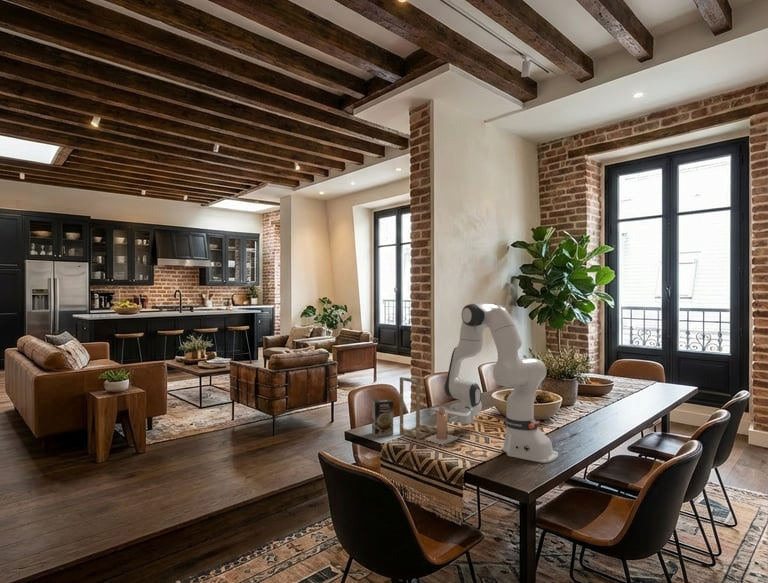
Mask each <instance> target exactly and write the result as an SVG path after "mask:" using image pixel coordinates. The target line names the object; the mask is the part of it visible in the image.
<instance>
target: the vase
mask: <svg viewBox="0 0 768 583" xmlns="http://www.w3.org/2000/svg"><path fill="white" fill-rule="evenodd" d="M438 407H439V412H438V413H436V425H435V426H436V433H435V434H436V438H437V439H447V434H448V420H447V413H445V407H446V406H443V405H442V406H438Z"/></svg>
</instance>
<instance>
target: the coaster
mask: <svg viewBox="0 0 768 583" xmlns="http://www.w3.org/2000/svg"><path fill="white" fill-rule="evenodd" d="M458 439H459V437H458V436H455V435H452V434H450V433H447V439H437V438H436V433H434V434H432V435H429V436H426V437H424V441H426V440H427V442H430V441H431V443H433V442H434V444H437V443H438V444H437V445H440V444H441V445H440V446H444V444H445V445H447V444H449V443H451V442H454V441H457V440H458Z"/></svg>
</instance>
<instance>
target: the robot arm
mask: <svg viewBox="0 0 768 583" xmlns="http://www.w3.org/2000/svg"><path fill="white" fill-rule="evenodd" d="M461 319H462V321H461V326H460V330H459V341H458V344H457V346H456V347H454V348H453V351H452V353H451V357H450V361H449V367H448V371H447V377H446V379H445V382H444V386H443V388H444V389H443V390H444V393H445V395H446V396H447V397H448V398H449V399H450V398H451V399H457V400H460V401H457V402H454V403H452V404H451V405H449V407H446V406H444V407H445V413H447V423H453V422H454V423H460V424H465V425H466V424H472V423H474V418H475V417H476V416H477V415H479V414H480V413H481V411H482V409H483V408H482V407H483V405H482V402H481V400H482V390H481V388H480V387H481V386H480V385H479V384H478V383H477V382H473V381H469V380H466V379H465V380H464V379H460V378H459V374H460V370H461V365H462V362H463V360H465V359H469V358H472V357H475V356H477V355H478V354H480V353H481V352H482V349H483V344H484V343H483V342H484V338H483V337H484V330H485V328H489V331H490V333H491V337H492V339H493V342H494V345H495V349H496V352H497V360H496V363H495V364H494V366H493V368H492V377H493V379H494V382H496V383H497V385H499V386H502V387H509V388H511V387H512V388H513V390H512V391H511V393H509V395H508V396H507V398H506V416H505V422H504V423H505V424H504V425H505V426H504V427H505V436H504V443H503V445H502V451H503V452H505V453H506V456H508V457H511V458H512V457H513V458H517V459H522V460H527V461H533V462H538V463H541V464H546V463H551V462H553V461H555V460H556V459H558V458H559V452H558V451H555V450H553V444H552V440H551V439H550V438H549V437H548V436H547V435H546V434H545V433H544V432H543V431H541V429H539V427H538V425H540V420H536V419H535V418H534V408H535V405H534V404H535V398H536V395H537V391H538V388H539V387H540V385H541V383H543V382H542V381H544V379H545V378H546V376H547V370H548V369H547V367H546V364H545V363H544V361H542V360H541V359H538V358H532V357H528V358H520V356H519V350H520V348H521V347H522V344H523V341H522V338H521V336H520V334H519V332H518V329H517V326H516V324H515V321H514V320H513V318H512V316H511V314H510V313H509V311H508V310H507V309H506V308H504V306H502V305H500V304H497V303H485V302H484V303H481V302H479V303H471V304H466V305H465V306H464V307H463V308H462V310H461ZM439 407H440V406H435V407H432V408H430V417H431V418H432V419H435V418H436V413H438V412H439Z"/></svg>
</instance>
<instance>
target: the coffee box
mask: <svg viewBox="0 0 768 583" xmlns="http://www.w3.org/2000/svg"><path fill="white" fill-rule="evenodd" d="M371 401H372V403H371V404H372V406H371V407H372V408H371V409H372V411H371V413H372V414H371V433H372V435H373V436H374V437H376V438H377V437H389V436H394V401H393V400H392V399H391V398H382V399H372V400H371Z"/></svg>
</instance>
